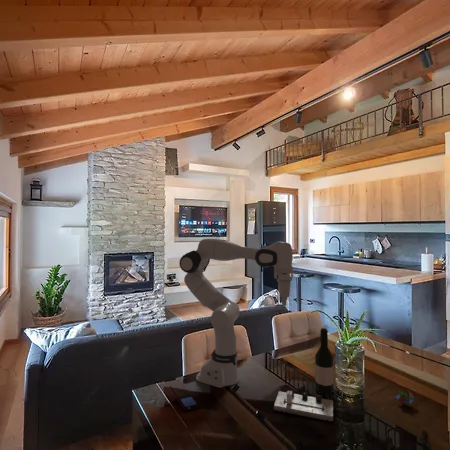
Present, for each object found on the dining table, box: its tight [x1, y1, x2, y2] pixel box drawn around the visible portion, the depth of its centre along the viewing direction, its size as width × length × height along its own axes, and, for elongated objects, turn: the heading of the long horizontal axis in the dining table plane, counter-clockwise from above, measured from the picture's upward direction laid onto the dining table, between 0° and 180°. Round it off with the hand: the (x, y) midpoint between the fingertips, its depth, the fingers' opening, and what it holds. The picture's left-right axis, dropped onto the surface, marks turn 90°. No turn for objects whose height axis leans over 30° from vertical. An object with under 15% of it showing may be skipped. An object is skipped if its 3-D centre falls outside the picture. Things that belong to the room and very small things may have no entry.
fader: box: [286, 390, 292, 404], centre depth 135 cm, size 2×3×4 cm, turn 161°
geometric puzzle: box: [394, 389, 416, 408], centre depth 137 cm, size 7×7×8 cm
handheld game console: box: [169, 385, 201, 414], centre depth 136 cm, size 12×11×7 cm
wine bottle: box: [314, 327, 334, 395], centre depth 150 cm, size 8×8×30 cm
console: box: [273, 389, 334, 422], centre depth 134 cm, size 24×13×4 cm, turn 71°
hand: (283, 303), depth 149 cm, fingers open, 8 cm apart
